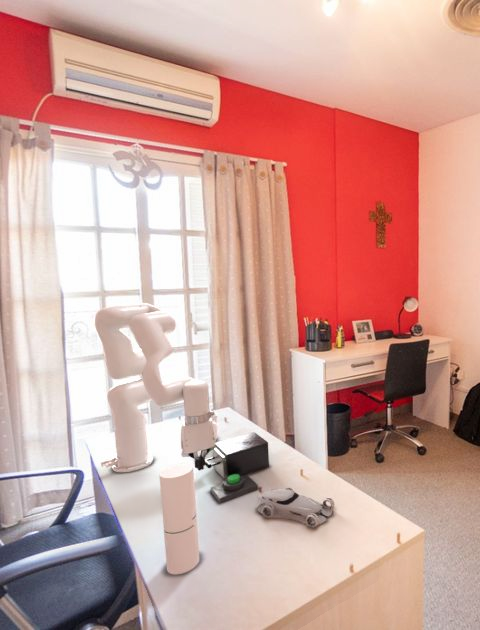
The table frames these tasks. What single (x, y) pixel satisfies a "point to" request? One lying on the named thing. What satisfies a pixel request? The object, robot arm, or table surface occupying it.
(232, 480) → the button
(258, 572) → the table surface
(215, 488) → the control block
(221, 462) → the drawer
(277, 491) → the car model
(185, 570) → the cylindrical container
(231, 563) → the table surface
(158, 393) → the robot arm
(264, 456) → the cabinet
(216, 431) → the mug
